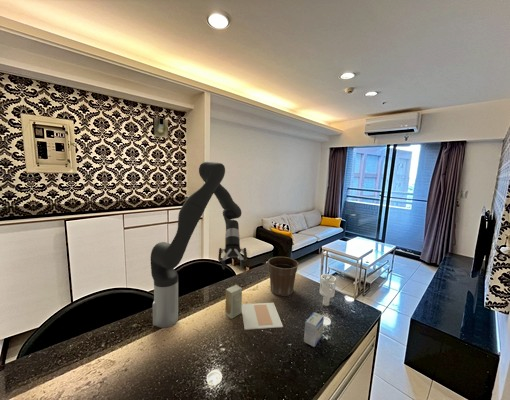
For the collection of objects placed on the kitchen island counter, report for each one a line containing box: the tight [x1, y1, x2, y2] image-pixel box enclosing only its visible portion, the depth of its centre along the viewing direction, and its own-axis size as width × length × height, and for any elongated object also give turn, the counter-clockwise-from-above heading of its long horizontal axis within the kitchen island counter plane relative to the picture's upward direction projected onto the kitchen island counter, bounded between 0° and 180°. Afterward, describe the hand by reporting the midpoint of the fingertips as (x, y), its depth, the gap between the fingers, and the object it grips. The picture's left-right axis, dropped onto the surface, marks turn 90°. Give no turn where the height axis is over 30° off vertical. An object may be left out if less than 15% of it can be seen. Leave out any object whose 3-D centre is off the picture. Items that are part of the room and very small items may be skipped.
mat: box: [241, 302, 284, 331], centre depth 101 cm, size 16×17×1 cm
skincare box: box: [224, 284, 243, 320], centre depth 100 cm, size 6×4×12 cm
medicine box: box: [303, 312, 325, 348], centre depth 87 cm, size 8×4×9 cm, turn 143°
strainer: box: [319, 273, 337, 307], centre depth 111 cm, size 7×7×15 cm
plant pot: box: [267, 256, 299, 297], centre depth 122 cm, size 16×16×16 cm
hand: (232, 268), depth 110 cm, fingers open, 8 cm apart
